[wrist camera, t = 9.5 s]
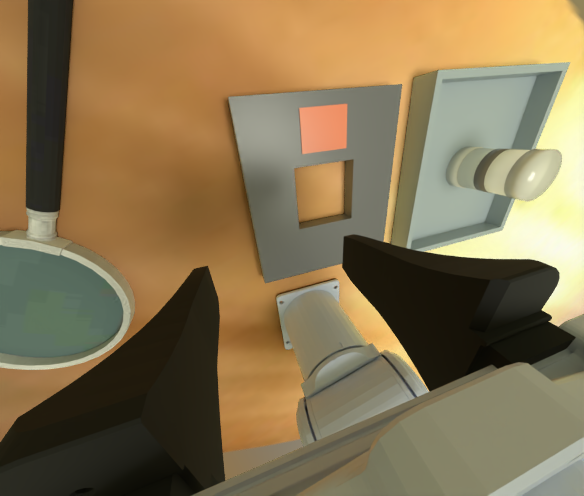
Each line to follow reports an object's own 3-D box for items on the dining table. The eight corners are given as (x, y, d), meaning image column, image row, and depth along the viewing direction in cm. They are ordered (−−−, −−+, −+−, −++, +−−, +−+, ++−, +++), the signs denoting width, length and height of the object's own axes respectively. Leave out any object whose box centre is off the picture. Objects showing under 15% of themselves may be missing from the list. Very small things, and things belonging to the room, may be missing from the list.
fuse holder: (374, 247, 27) (382, 253, 25) (262, 275, 24) (265, 283, 22) (389, 87, 19) (402, 83, 18) (227, 100, 16) (228, 96, 15)
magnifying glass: (198, 24, 14) (195, 8, 13) (126, 355, 24) (119, 372, 22) (-149, -200, 9) (-239, -282, 7) (-62, 349, 18) (-91, 371, 17)
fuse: (470, 183, 26) (546, 196, 20) (442, 189, 25) (512, 205, 19) (481, 144, 24) (570, 146, 18) (451, 149, 23) (533, 153, 17)
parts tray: (482, 223, 30) (502, 230, 28) (390, 247, 27) (404, 256, 25) (536, 69, 22) (570, 62, 20) (413, 77, 19) (438, 70, 17)
